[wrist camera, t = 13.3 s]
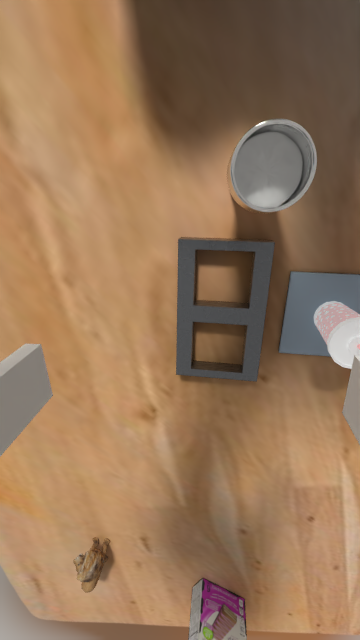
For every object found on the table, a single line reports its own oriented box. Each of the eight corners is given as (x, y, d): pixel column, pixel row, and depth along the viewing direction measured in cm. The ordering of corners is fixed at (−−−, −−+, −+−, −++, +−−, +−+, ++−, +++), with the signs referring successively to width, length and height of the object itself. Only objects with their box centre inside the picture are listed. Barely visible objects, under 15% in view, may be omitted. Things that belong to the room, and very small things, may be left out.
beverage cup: (360, 328, 42) (422, 384, 29) (314, 342, 43) (354, 402, 30) (348, 288, 40) (409, 329, 27) (302, 305, 41) (338, 351, 28)
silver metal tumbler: (295, 180, 37) (339, 166, 23) (250, 222, 39) (265, 233, 25) (257, 135, 35) (280, 91, 22) (214, 181, 38) (209, 168, 24)
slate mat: (290, 271, 41) (291, 272, 40) (386, 275, 39) (388, 276, 39) (278, 351, 45) (279, 352, 44) (363, 357, 44) (365, 359, 43)
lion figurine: (86, 524, 65) (67, 571, 57) (110, 528, 65) (94, 576, 56) (90, 566, 71) (72, 615, 62) (112, 570, 70) (97, 620, 62)
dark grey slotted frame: (180, 237, 41) (178, 239, 39) (271, 240, 39) (274, 242, 37) (178, 366, 48) (176, 374, 46) (255, 372, 47) (256, 381, 44)
